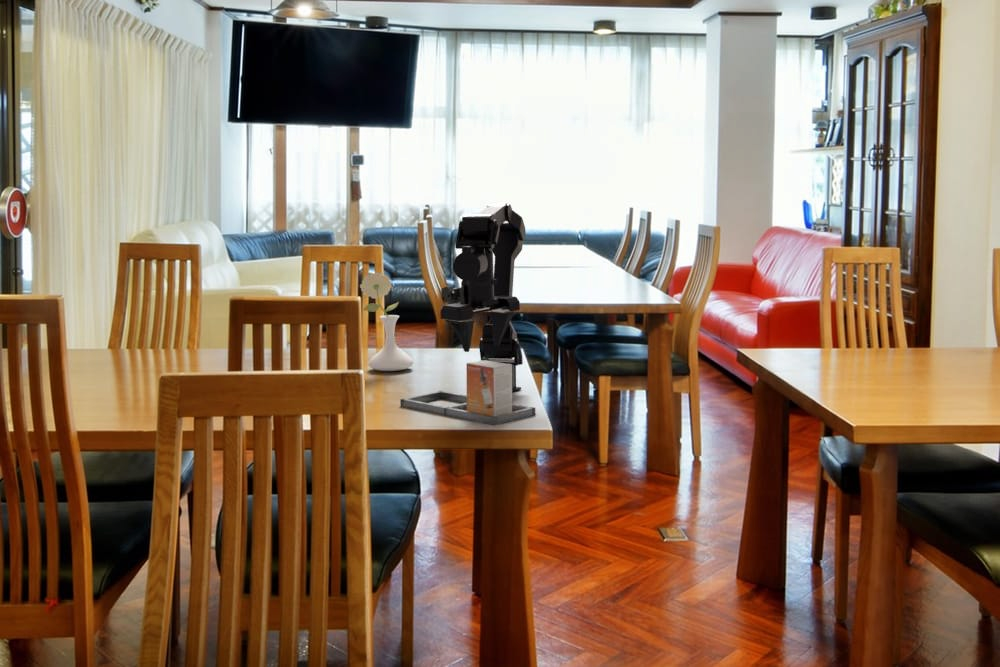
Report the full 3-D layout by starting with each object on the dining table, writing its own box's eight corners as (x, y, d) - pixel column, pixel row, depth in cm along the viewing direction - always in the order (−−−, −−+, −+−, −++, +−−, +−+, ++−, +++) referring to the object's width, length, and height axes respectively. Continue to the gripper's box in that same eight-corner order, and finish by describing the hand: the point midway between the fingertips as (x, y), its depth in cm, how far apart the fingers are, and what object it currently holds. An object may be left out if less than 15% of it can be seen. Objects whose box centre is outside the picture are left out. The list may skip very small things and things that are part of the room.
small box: (466, 413, 223) (465, 362, 221) (485, 408, 227) (484, 359, 225) (494, 418, 217) (493, 367, 216) (513, 414, 221) (512, 363, 220)
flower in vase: (417, 366, 281) (414, 269, 277) (409, 374, 269) (406, 273, 266) (367, 366, 282) (364, 270, 278) (357, 374, 271) (354, 274, 267)
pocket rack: (441, 397, 240) (441, 390, 240) (535, 414, 221) (535, 407, 221) (400, 406, 232) (400, 399, 232) (494, 425, 213) (494, 417, 212)
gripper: (482, 268, 238) (484, 338, 240) (420, 276, 224) (423, 350, 227) (520, 271, 230) (522, 343, 233) (458, 280, 217) (461, 357, 219)
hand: (481, 348), depth 228 cm, fingers open, 9 cm apart
